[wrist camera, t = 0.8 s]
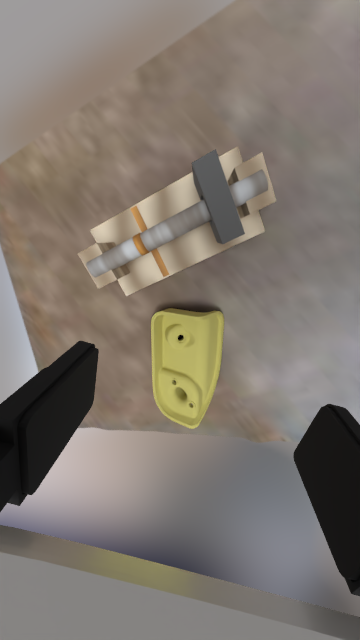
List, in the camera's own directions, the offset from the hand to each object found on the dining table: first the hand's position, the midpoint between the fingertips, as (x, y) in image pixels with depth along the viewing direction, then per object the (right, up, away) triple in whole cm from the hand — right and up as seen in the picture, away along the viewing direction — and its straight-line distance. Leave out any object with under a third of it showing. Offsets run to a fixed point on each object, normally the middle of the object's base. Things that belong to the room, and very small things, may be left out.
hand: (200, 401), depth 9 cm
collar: (+4, +18, +20) cm, 27 cm away
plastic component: (0, -3, +32) cm, 32 cm away
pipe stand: (-1, +17, +24) cm, 29 cm away
